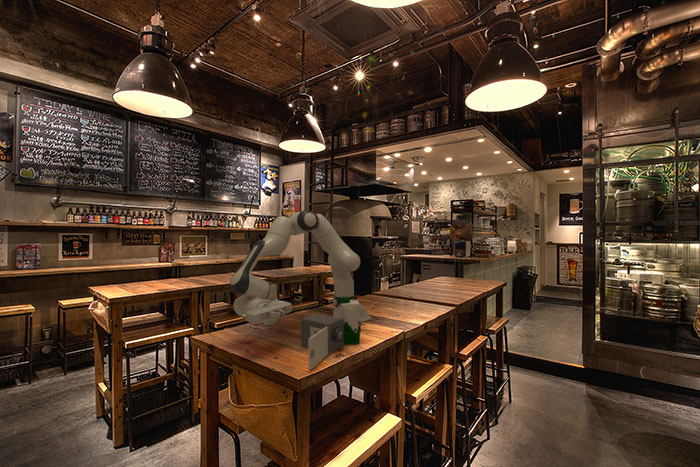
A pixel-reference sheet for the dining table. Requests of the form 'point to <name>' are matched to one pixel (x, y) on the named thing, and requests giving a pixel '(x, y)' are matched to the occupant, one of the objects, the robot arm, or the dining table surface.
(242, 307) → the robot arm
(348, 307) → the milk carton
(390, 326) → the dining table surface
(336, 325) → the box
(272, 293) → the paper towel roll
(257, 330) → the dining table surface
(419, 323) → the dining table surface
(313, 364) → the side door
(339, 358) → the dining table surface
